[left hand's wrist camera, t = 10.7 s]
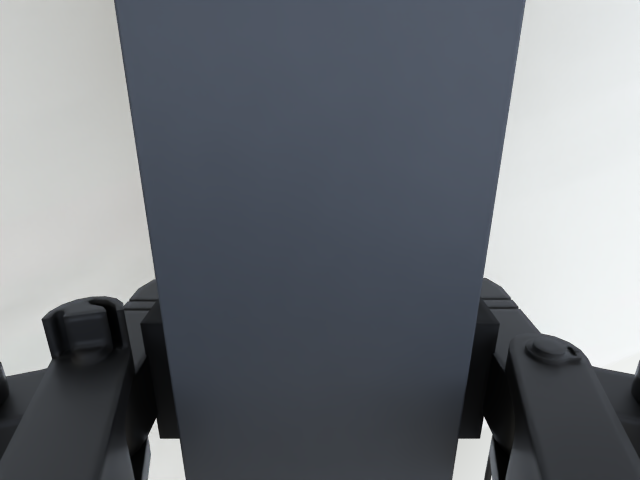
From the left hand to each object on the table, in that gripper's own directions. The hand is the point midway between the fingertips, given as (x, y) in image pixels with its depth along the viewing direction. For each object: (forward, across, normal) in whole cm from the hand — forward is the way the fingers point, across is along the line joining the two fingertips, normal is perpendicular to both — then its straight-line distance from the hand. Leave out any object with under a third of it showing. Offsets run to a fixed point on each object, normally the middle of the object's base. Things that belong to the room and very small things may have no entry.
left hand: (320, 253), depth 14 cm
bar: (+1, 0, -7) cm, 7 cm away
